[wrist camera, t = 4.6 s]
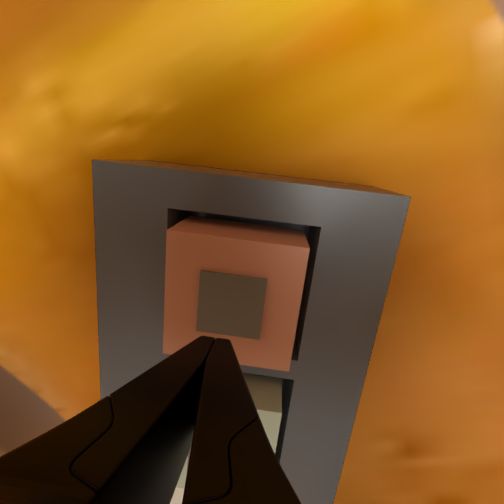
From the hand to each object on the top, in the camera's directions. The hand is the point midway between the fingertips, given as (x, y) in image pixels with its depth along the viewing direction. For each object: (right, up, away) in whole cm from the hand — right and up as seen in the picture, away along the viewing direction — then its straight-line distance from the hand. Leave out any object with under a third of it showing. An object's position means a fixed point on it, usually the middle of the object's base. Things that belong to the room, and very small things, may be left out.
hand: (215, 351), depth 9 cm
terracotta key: (+1, +2, +6) cm, 6 cm away
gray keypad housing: (0, -4, +11) cm, 12 cm away
